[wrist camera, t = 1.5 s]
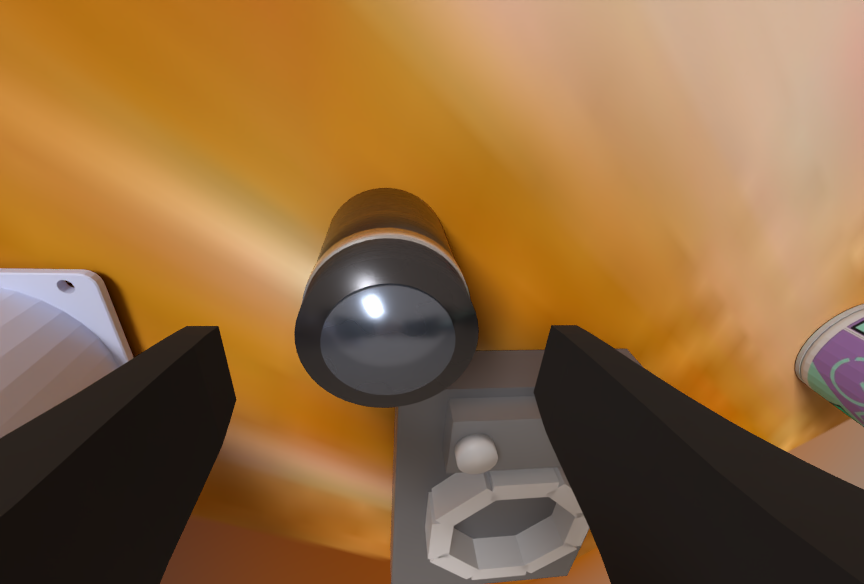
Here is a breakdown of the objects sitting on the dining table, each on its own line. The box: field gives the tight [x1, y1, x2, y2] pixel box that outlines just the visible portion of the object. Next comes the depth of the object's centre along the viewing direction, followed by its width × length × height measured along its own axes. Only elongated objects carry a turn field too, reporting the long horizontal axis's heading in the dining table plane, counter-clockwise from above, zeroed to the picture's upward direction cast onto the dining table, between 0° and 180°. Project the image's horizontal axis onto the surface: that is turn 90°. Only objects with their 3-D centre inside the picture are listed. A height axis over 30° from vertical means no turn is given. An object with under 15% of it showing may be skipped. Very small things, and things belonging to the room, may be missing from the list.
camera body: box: [391, 349, 642, 584], centre depth 20 cm, size 11×16×4 cm
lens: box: [295, 188, 479, 408], centre depth 12 cm, size 4×4×6 cm
